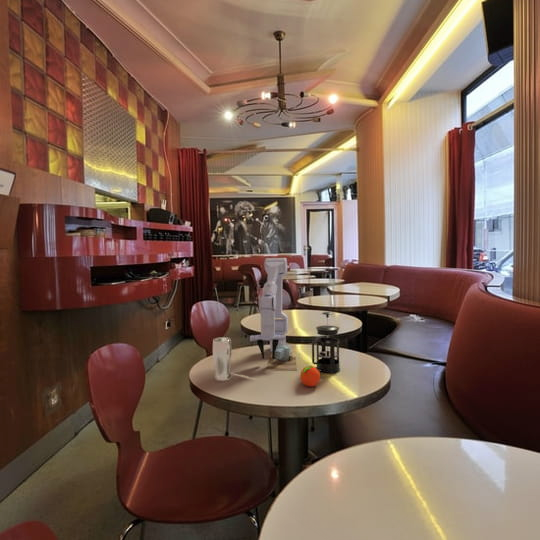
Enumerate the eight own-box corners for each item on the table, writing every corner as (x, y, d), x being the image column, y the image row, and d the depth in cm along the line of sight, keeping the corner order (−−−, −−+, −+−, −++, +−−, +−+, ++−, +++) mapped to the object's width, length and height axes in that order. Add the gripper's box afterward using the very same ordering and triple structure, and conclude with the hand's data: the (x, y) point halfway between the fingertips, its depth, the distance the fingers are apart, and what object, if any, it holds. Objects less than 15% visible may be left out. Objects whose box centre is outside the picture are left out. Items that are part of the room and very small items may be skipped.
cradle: (268, 358, 160) (268, 352, 160) (295, 358, 159) (295, 352, 159) (266, 372, 142) (266, 365, 142) (296, 372, 141) (296, 365, 141)
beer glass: (231, 381, 133) (229, 341, 132) (212, 382, 133) (210, 341, 132) (233, 375, 140) (232, 336, 139) (215, 375, 140) (214, 337, 139)
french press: (335, 364, 150) (334, 309, 148) (345, 372, 141) (345, 313, 139) (308, 367, 147) (307, 311, 146) (317, 375, 138) (316, 315, 137)
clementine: (310, 392, 122) (309, 371, 122) (294, 387, 127) (294, 367, 126) (324, 385, 128) (323, 365, 127) (308, 380, 133) (308, 361, 132)
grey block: (271, 362, 150) (272, 350, 149) (280, 356, 159) (281, 344, 158) (282, 365, 148) (283, 352, 147) (291, 358, 157) (292, 346, 156)
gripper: (249, 327, 144) (249, 361, 145) (285, 327, 144) (286, 360, 144) (250, 323, 151) (251, 356, 152) (285, 323, 151) (286, 355, 151)
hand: (268, 358), depth 149 cm, fingers open, 3 cm apart
